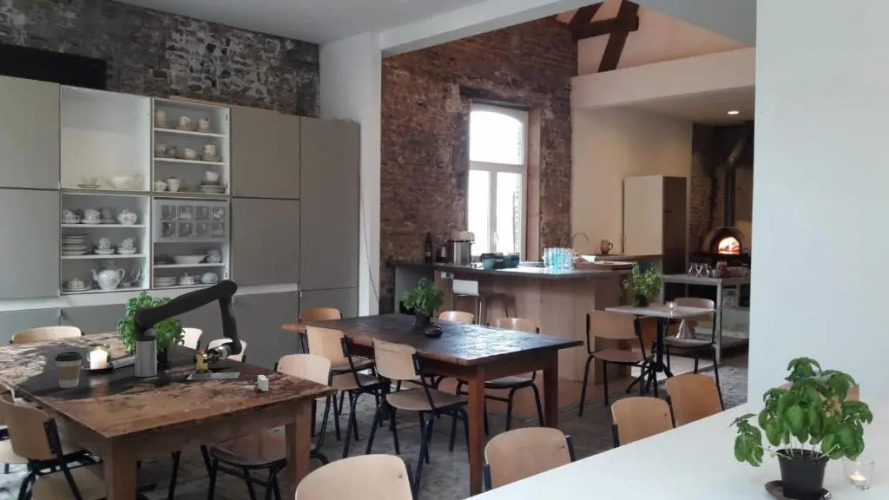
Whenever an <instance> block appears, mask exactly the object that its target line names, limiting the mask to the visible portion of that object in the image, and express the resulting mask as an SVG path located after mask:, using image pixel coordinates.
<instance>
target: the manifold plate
mask: <svg viewBox="0 0 889 500" xmlns="http://www.w3.org/2000/svg"><path fill="white" fill-rule="evenodd" d="M240 373H241V372H239V371H238V372H236V371H235V372H213V370H209V369H207V373H196V370H194V371H192V372H191V373H190V375H188V377H187V378H186V380H213V379H215V380H217V379H220V380H221V379H238V378H239V375H240Z"/></svg>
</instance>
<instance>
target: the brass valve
mask: <svg viewBox="0 0 889 500" xmlns="http://www.w3.org/2000/svg"><path fill="white" fill-rule="evenodd" d="M205 352H206V349H201V350H198V353H197V354H198V355H196V354H195V355H196V363H195V364H196V365H195V366H196V370H195V371H196V373H207V370H208V363H204V359H205V358H207V354H204V353H205Z"/></svg>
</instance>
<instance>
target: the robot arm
mask: <svg viewBox="0 0 889 500" xmlns="http://www.w3.org/2000/svg"><path fill="white" fill-rule="evenodd" d="M238 286H239V285H238V284H237V282H236V281H235V280H233V279H230V278H227V279H223V280H220V281H218V282H217V283H216V284H214V285H212V286H208V287H204V288H200V289H195V290H191V291H188V292H186V293H183V294H179V295H178V296H175V298H173V299H171V300H169V301H168V302H166V303H164V304H160V305H157V306H153V307H148V306H141V307H139V308H138V309H137V310H136V311H135V313H134V315H133V321H134V322H133V325H134V336H135V350H136V351H135V356H136V357H135V363H134V373H135V374H134V377H140V378H146V377H147V378H148V377H153V376H156V375H157V373H158V372H157V370H158V369H157V367H158V366H157V365H158V362H157V333H156V331H155V325H157V324H159V323H161V322H164V321H165V320H168V319H170V318H173V317H177V316H179V315H183V314H186V313H189V312H192V311H194V310H197V309H199V308H201V307H204V306H206V305H207V304H210V303H212V302H214V301H217V300H218V304H219V308H220V310H219V311H220V315H221V322H222V326H221V327H222V333H223V334H222V335H223V338H226V339H227V338H228V339H230V340H231V341H229V342H228V341H227V342H223V343H221V344H220V345H219V346H218V345H217V346H214V347H211V348H209V349H207V350H205V352H204V354H207V358H205V359H204V363H207V364H208V363H209V364H211V365H212V364H213V365H214V364H216V363H219V362H221V361H223V360H226V359H227V358H229V357H230V356H238V355H240V354H241V353H242V351H243V345H242V342H241V340H240V337H239V333H238V327H237V326H238V325H237V319H236V317H235V316H236V315H235V311H234V310H233V306H232V296H234V295H235V294H236V293H237V291H238ZM198 354H199V353H196V354H195V355H193V358H192V363H193V364H196V355H198Z"/></svg>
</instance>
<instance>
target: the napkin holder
mask: <svg viewBox="0 0 889 500" xmlns="http://www.w3.org/2000/svg"><path fill="white" fill-rule="evenodd" d="M257 387H258V389H259V390H260V389H261V390H260V391H262V392H267V391H268V392H269V379H268V378H267V377H266V376H265V375H264V374H259V375H257Z"/></svg>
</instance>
